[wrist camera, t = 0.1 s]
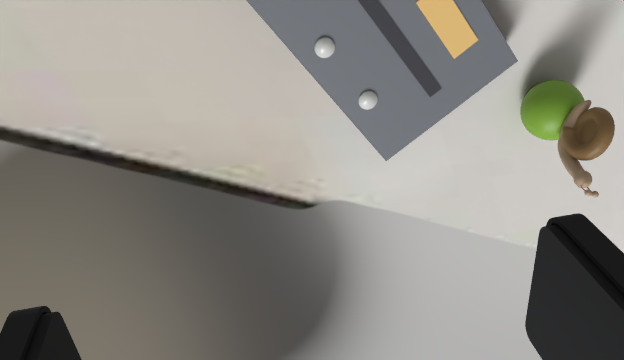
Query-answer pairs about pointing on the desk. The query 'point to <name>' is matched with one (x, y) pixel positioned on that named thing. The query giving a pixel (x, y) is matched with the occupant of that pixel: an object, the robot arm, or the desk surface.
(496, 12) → the desk surface
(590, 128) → the snail figurine
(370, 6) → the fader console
